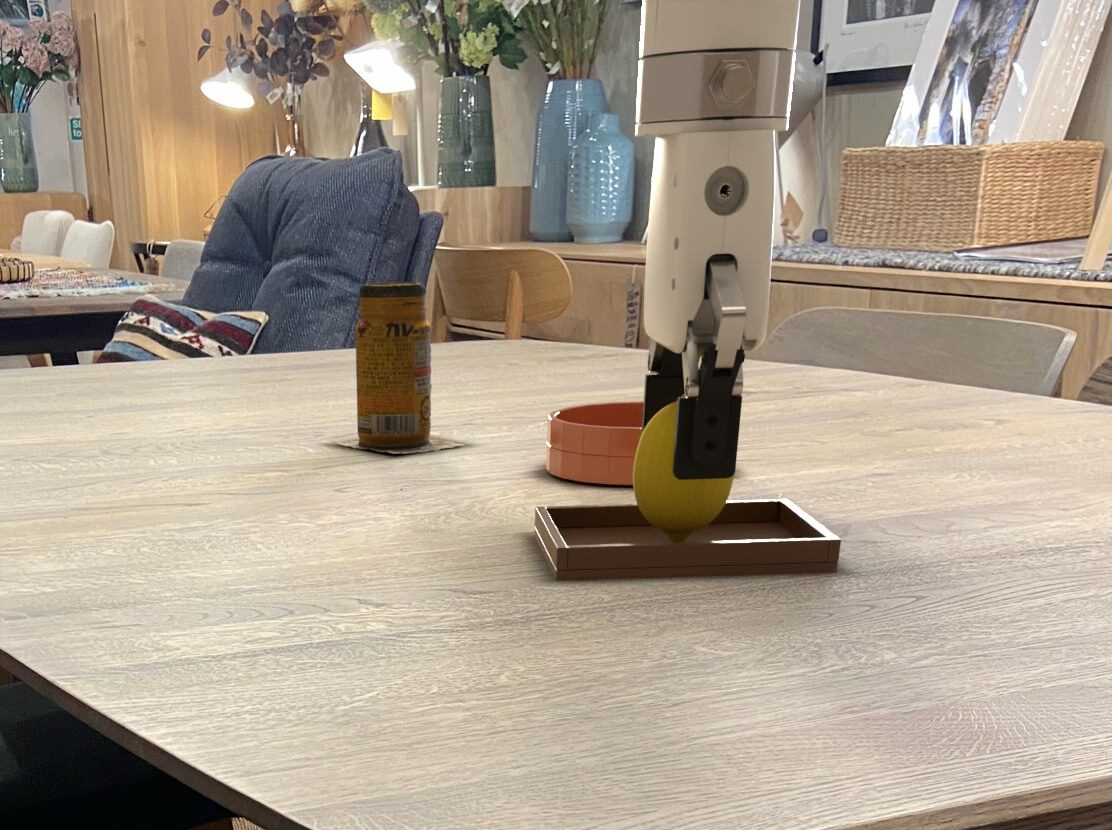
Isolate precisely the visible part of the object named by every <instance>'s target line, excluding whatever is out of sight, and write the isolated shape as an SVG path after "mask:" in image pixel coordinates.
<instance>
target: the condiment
mask: <svg viewBox="0 0 1112 830" xmlns="http://www.w3.org/2000/svg"><path fill="white" fill-rule="evenodd" d="M426 293H427V288H426V286H425V285H424V284H423V283H422V282H416V281H413V282H412V281H411V282H404V281H403V282H401V281H400V282H375V283H374V282H372V283H364V284H363V285H361V286H360V287H359V291H358V294H359V306H358V312H359V315H360V318H359V320H358V322H357V323H356V325H355V372H356V373H355V374H356V375H355V376H356V410H357V411H356V416H357V417H356V419H357V421H356V422H357V436H358V440H343V441H336V442H335V444H337V445H340V446H344V447H348V448H353V449H358V450H371V451H375V452H379V453H389V454H394V455H395V454H403V455H406V454H415V453H426V452H431V451H436V452H438V451H439V450H443V449H453V448H456V447H461V446H466V443H465V444H464V443H461V442H453V441H451V440H449V441H448V440H444V439H430V435H431V427H432V423H431V421H432V420H431V416H432V401H431V400H432V399H431V397H432V387H433V385H432V380H431V379H432V365H431V363H432V355H431V354H432V346H431V343H432V341H431V339H432V327H431V324H430V322H429V320H428V319H427V317H426V312H427V303H426V296H425V295H426Z"/></svg>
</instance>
